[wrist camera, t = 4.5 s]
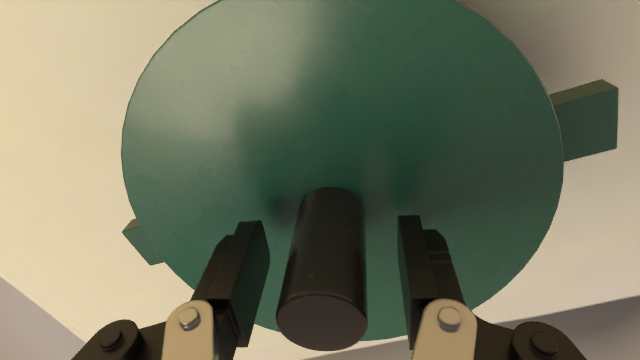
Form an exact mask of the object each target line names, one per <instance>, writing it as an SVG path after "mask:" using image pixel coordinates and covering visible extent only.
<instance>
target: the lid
mask: <svg viewBox="0 0 640 360" xmlns="http://www.w3.org/2000/svg"><path fill="white" fill-rule="evenodd" d="M121 159H122V169H123V178H124V182H125V186H126V190H127V194H128V198H129V201H130V204H131V206H132V209H133V211H134V214H135V216H136V219H137V221H138V223H139V225H140V227H141V228H142V230H143V232H144V234H145V235H146V237H147V239H148V241H149V242H150V243H151V245H152V246H153V247H154V249H155V250H156V252H157V253H158V254H159V256H160V257H161V258H162V259H163V261H164V262H165V263H166V264H167V265H168V266H169V267H170V268H171V269H172V270H173V271H174V273H175V274H176V275H178V276H179V277H180V278H181V279H182V280H183V281H184V282H185V283H187V284H188V285H189V286H190V287H191V288H192V289H194V290H195V289H196V287H197V285H198V283H199V281H200V279H201V277H202V275H203V272H204V270H205V268H206V267H207V264H208V262H209V260H210V258H211V255H212V253H213V251H214V249H215V247H216V245H217V244H218V243H219V242H220V241H221V240H222V239H223V238H224V237H225V236H226V235H234V233H235V230H236V228H237V226H238V223H239V222H240V221H250V220H261V221H262V223H263V227H264V231H265V235H266V239H267V243H268V247H269V251H270V267H269V271H268V274H267V278H266V282H265V285H264V289H263V293H262V296H261V300H260V304H259V307H258V311H257V315H256V318H255V322H254V324H257V325H259V326H262V327H264V328H268V329H271V330H275V331H278V332H281V333H282V334H283V335H284V336H285V337H286V338H287V339H288V340H290V341H291V342H293V343H295V344H297V345H299V346H301V347H304V348H307V349H312V350H317V351H336V350H342V349H345V348H348V347H351V346H353V345H354V344H356V343H357V342H359V341H371V340H380V339H389V338H394V337H399V336H404V335H408V334H407V326H406V318H405V311H404V303H403V295H402V288H401V280H400V273H399V265H398V249H397V221H398V216H401V215H419V216H420V219H421V223H422V228H423V230H424V229H436V230H437V231H438V232H439V233H440V234H441V235H442V236H443V237H444V238H445V239H446V243H447V246H448V249H449V254H450V256H451V259H452V263H453V266H454V269H455V272H456V275H457V279H458V282H459V285H460V289H461V292H462V295H463V298H464V301H465V304H466V305H467V307H468V308H469V309H470V310H473V309H474V308H476V307H477V306H479V305H480V304H482V303H484V302H485V301H487V300H488V299H490V298H491V297H492V296H494V295H495V294H496V293H497V292H499V291H500V290H501V289H502V288H504V287H505V286H506V285H507V284H508V283H509V282H510V281H511V280H512V279H513V278H514V277H515V276H516V275H517V274H518V273H519V272H520V271H521V270H522V269H523V268H524V267H525V265H526V264H527V263H528V261H529V260H530V259H531V257H532V256H533V255H534V253H535V252H536V251H537V249H538V248H539V246H540V244H541V242H542V241H543V239H544V237H545V235H546V233H547V232H548V230H549V228H550V225H551V222H552V220H553V217H554V215H555V212H556V209H557V207H558V203H559V198H560V193H561V188H562V183H563V164H564V151H563V144H562V137H561V130H560V125H559V122H558V119H557V116H556V113H555V110H554V107H553V104H552V101H551V98H550V96H549V94H548V92H547V90H546V89H545V87H544V85H543V83H542V81H541V79H540V78H539V76H538V74H537V72H536V70H535V69H534V68H533V66H532V65H531V64H530V63H529V61H528V60H527V59H526V58H525V56H524V55H523V54H522V53H521V51H520V50H519V49H518V48H517V46H516V45H515V44H514V43H513V42H512V41H511V40H510V39H508V38H507V37H506V36H505V35H504V34H503V33H502V32H501V31H499V30H498V29H497V28H496V27H495V26H494V25H493V24H492V23H491V22H489V21H488V20H487V19H485V18H484V17H482V16H480V15H479V14H477V13H476V12H474V11H473V10H471V9H469V8H468V7H466V6H465V5H463V4H461V3H460V2H458V1H457V0H218V1H217V2H215V3H213V4H211V5H209V6H208V7H206V8H204V9H202V10H201V11H199V12H198V13H197V14H195V15H194V16H193V17H192V18H190V19H189V20H188V21H187V22H185V23H184V24H183V25H182V26H180V27H179V28H178V29H177V30H175V31H174V32H173V33H172V35H171V36H170V37H169V38H168V39H167V40H166V41H165V42H164V44H163V45H162V46H161V47H160V48H159V49H158V50H157V51H156V53H155V54H154V55H153V57H152V58H151V60H150V61H149V63H148V65H147V66H146V68H145V69H144V71H143V73H142V74H141V76H140V77H139V79H138V81H137V84H136V86H135V89H134V91H133V94H132V96H131V99H130V101H129V103H128V107H127V112H126V116H125V121H124V125H123V130H122V147H121Z"/></svg>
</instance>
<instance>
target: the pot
mask: <svg viewBox="0 0 640 360" xmlns="http://www.w3.org/2000/svg"><path fill="white" fill-rule="evenodd" d="M618 90H619V89H618V87H616V86H614V85H612V84H610V83H608V82H607V81H605V80H603V79H600V80H597V81H594V82H590V83H587V84H584V85H580V86H577V87H574V88H570V89H567V90H564V91H560V92H557V93H554V94H550V95H549V96H550V98H551V101H552V104H553V107H554V110H555V113H556V116H557V119H558V122H559V125H560V130H561V137H562V144H563V151H564V162H565V161H569V160H573V159H577V158H581V157H585V156H588V155H592V154H596V153H600V152H604V151H608V150H612V149H616V148H617V125H618ZM122 233H123V234H124V236H125V237H126V238H127V239H128V240H129V242H130V243H131V244H132V245H133V246H134V247H135V249H136V250H137V251H138V252H139V253H140V254H141V256H142V257H143V258H144V259H145V260H146V261H147V263H148V264H149V265H155V264H159V263H163V262H164V261H163V259H162V258H161V257H160V256H159V254H158V253H157V252H156V250H155V249H154V247H153V246H152V245H151V243H150V242H149V241H148V239H147V237H146V235H145V234H144V232H143V230H142V228H141V227H140V225H139V223H138V221H137V219H133V220H131V221H130V223H129V224H128V225H127V226H126V227H125V229H124V230H123V231H122Z"/></svg>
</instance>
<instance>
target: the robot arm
mask: <svg viewBox="0 0 640 360" xmlns="http://www.w3.org/2000/svg"><path fill="white" fill-rule="evenodd" d="M397 249H398V265H399V273H400V280H401V288H402V295H403V303H404V311H405V318H406V326H407V334H408V341H409V348H410V350H413V353H412V357H411V360H587V359H586V358H585V357H584V356H583V355H582V353H581V352H580V351H579V350H578V349H577V347H576V346H575V345H574V344H573V343H572V341H571V340H570V339H569V338H568V337H567V336H566V335H565V334H563V333H562V332H561V331H559V330H558V329H556V328H554V327H552V326H550V325H547V324H545V323H541V322H525V323H522V324H520V325H518V326H517V327H516V328H515V329H514V330H512V329H509V328H505V327H501V326H497V325H494V324H491V323H488V322H486V321H484V320H482V319H480V318H479V317H477V316H476V315H475V314H474V313H473V312H472V311H471V310H470V309H469V308H468V307H467V305H466V304H465V301H464V298H463V295H462V292H461V289H460V285H459V282H458V279H457V275H456V272H455V269H454V266H453V263H452V259H451V256H450V254H449V249H448V246H447V243H446V239H445V238H444V237H443V236H442V235H441V234H440V233H439V232H438V231H437V230H436V229H424V230H423V228H422V223H421V219H420V216H419V215H401V216H398V221H397ZM269 267H270V251H269V247H268V243H267V239H266V235H265V231H264V227H263V223H262V221H261V220H250V221H240V222H239V223H238V226H237V228H236V230H235V233H234V235H226V236H225V237H224V238H223V239H222V240H221V241H220V242H219V243H218V244H217V245H216V247H215V249H214V251H213V253H212V255H211V258H210V260H209V262H208V264H207V267H206V268H205V270H204V272H203V275H202V277H201V279H200V281H199V283H198V285H197V287H196V289H195V291H194V294H193V296H192V298H191V300H190V301H189V302H186V303H184V304H182V305H180V306H179V307H178V308H176V309H175V310H174V311H173V312H172V313H171V314H170V316H169V317H168V319H167V321H165V322H163V323H159V324H156V325H152V326H149V327H145V328H142V329H138V327H137V325H136V324H135V323H134V322H133V321H131V320H118V321H115V322H112V323H110V324H108V325H106V326H105V327H103V328H102V329H100V330H99V331H98V332H97V333H96V334H95V335H94V336H93V337H92V338H91V339H90V340H89V341H88V342H87V343H86V344H85V346H84V347H83V348H82V349H81V350H80V351H79V352H78V353H77V354H76V355H75V356H74V358H72V359H71V360H233V357H234V353H235V350H236V347H248V344H249V340H250V336H251V333H252V329H253V325H254V322H255V318H256V315H257V311H258V307H259V304H260V300H261V296H262V293H263V289H264V285H265V282H266V278H267V274H268V271H269Z"/></svg>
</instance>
